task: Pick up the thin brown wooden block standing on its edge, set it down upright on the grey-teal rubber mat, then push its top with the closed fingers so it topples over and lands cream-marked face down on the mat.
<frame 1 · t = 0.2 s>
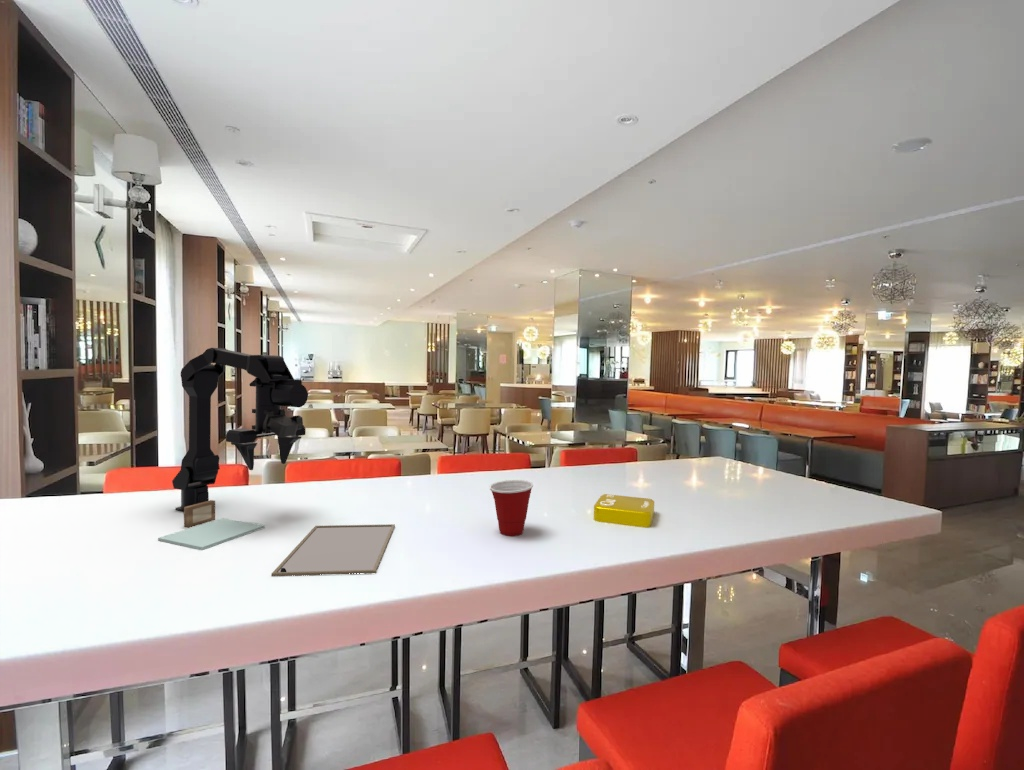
hand: (267, 466, 123), 14 cm above the table, fingers open, 9 cm apart
picture frame: (341, 550, 107), on the table
element tile: (624, 518, 134), on the table
plastic cup: (510, 533, 119), on the table
brown wooden block: (200, 523, 121), on the table
mat: (213, 533, 114), on the table
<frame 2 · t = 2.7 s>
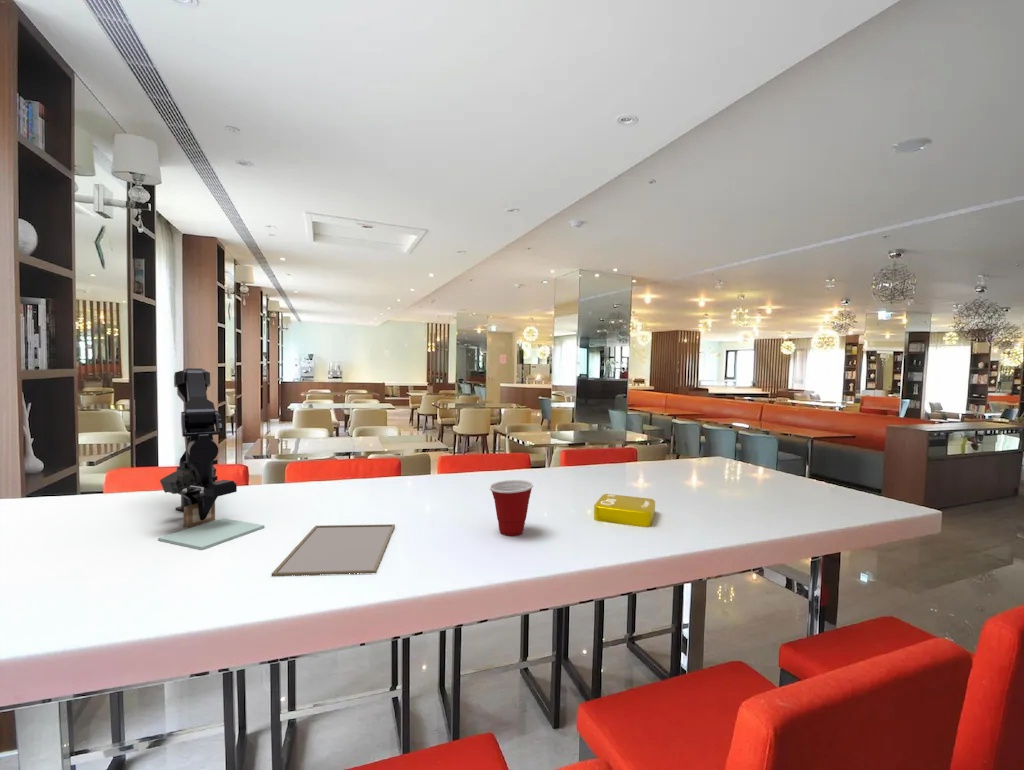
hand: (200, 519, 121), 1 cm above the table, fingers closed on brown wooden block, 2 cm apart
brown wooden block: (199, 523, 121), on the table, touching gripper
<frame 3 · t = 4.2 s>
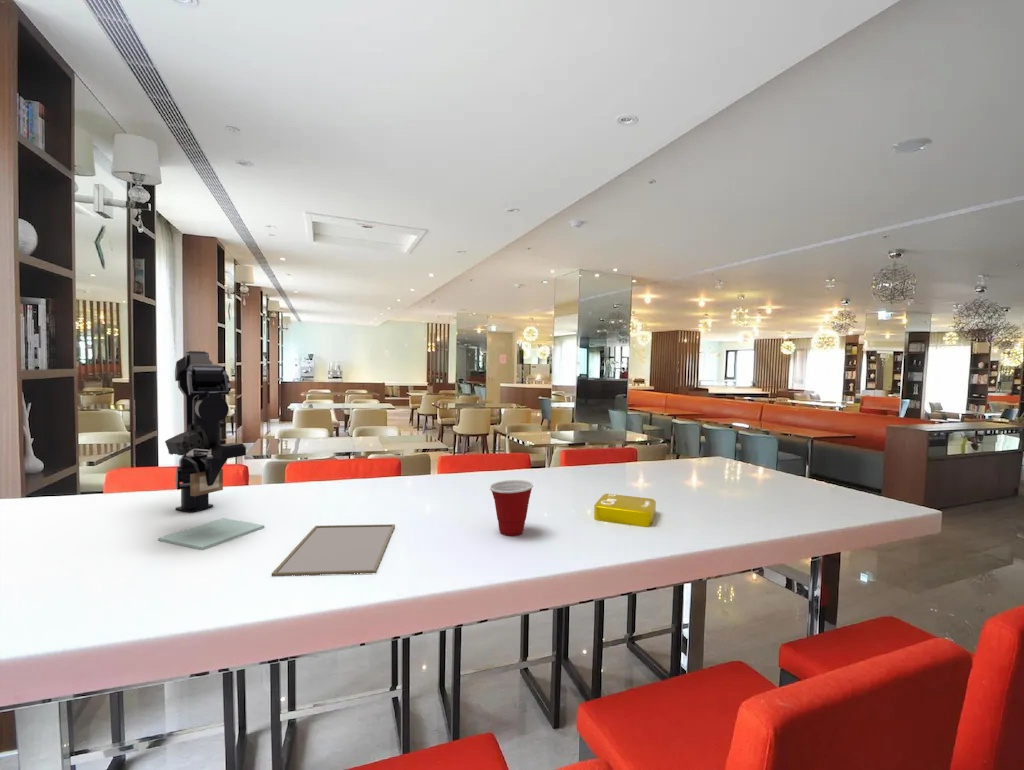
hand: (207, 485, 114), 11 cm above the table, fingers closed on brown wooden block
brown wooden block: (207, 492, 114), point 9 cm above the table, touching gripper
everything else where it was.
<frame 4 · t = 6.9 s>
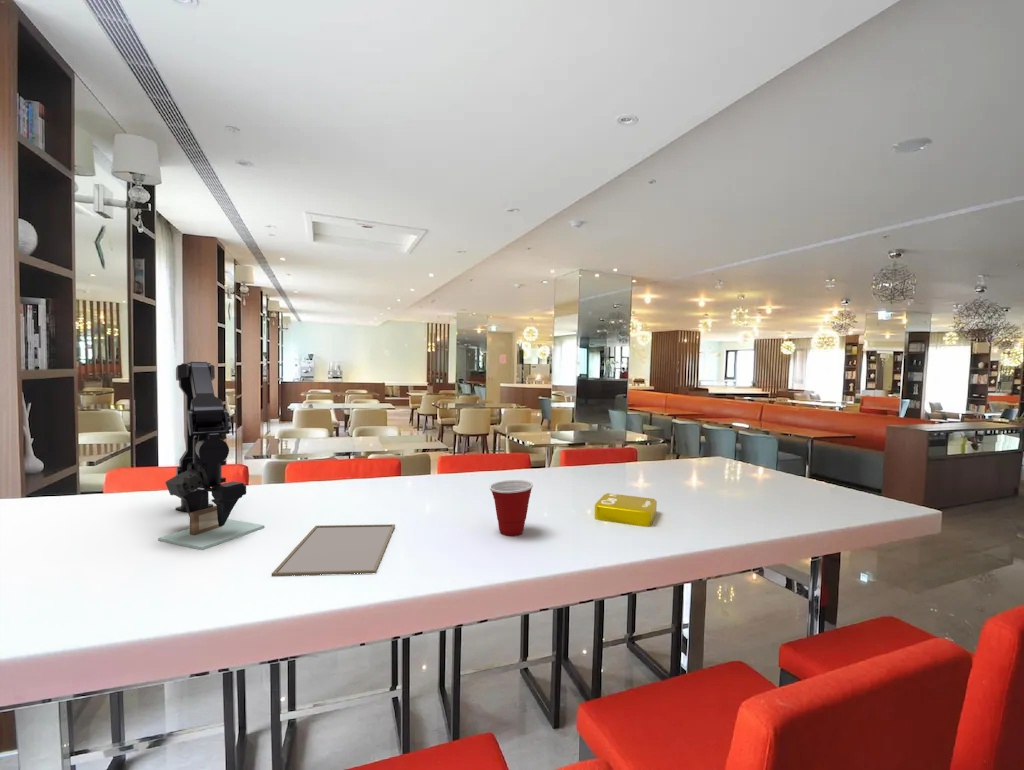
hand: (207, 523, 115), 2 cm above the table, fingers open, 9 cm apart
brown wooden block: (206, 530, 115), point 1 cm above the table, touching mat
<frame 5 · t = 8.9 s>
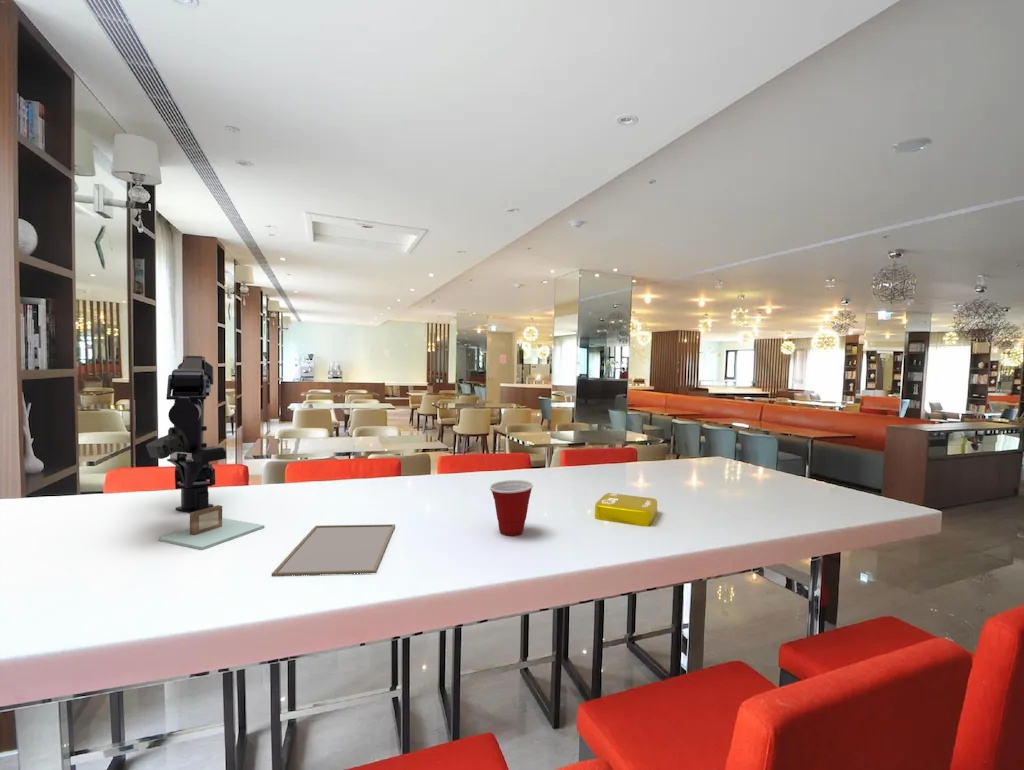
hand: (188, 487, 117), 10 cm above the table, fingers closed
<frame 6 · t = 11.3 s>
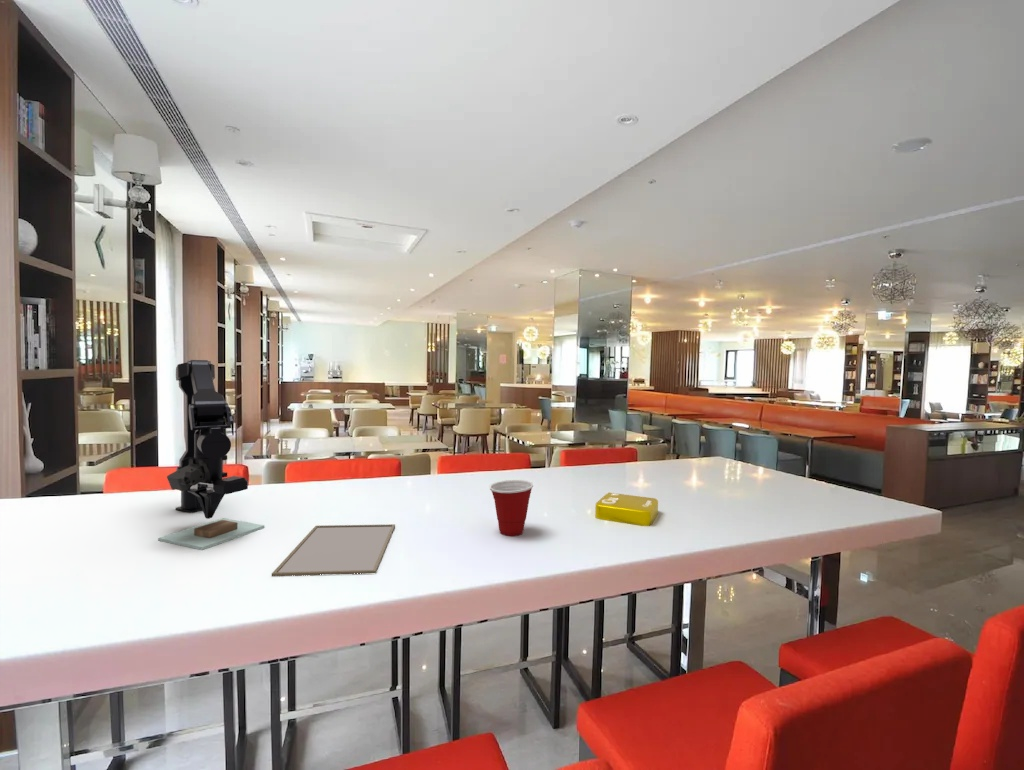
hand: (208, 518, 114), 4 cm above the table, fingers closed
brown wooden block: (208, 527, 114), point 1 cm above the table, tilted 90°, touching mat
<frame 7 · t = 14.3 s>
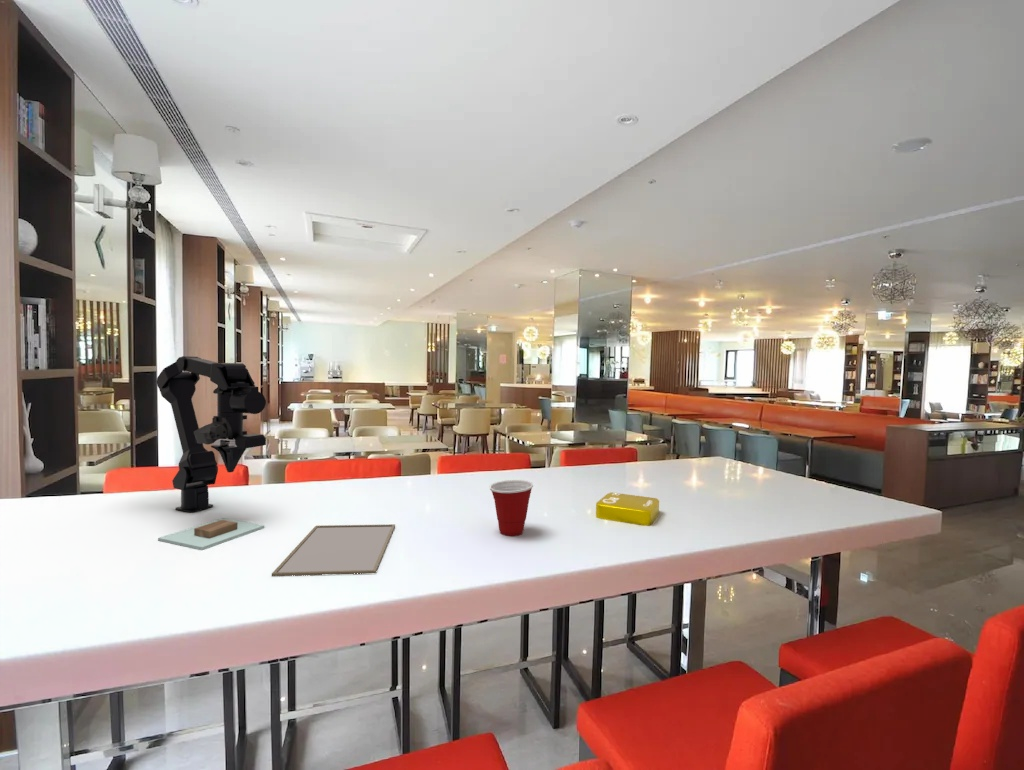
hand: (230, 472, 125), 12 cm above the table, fingers closed
at the end: brown wooden block tilted 90°; brown wooden block inside the target area on the mat (1.3 cm from its centre), point 1.4 cm above the mat's base; the gripper is holding nothing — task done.
